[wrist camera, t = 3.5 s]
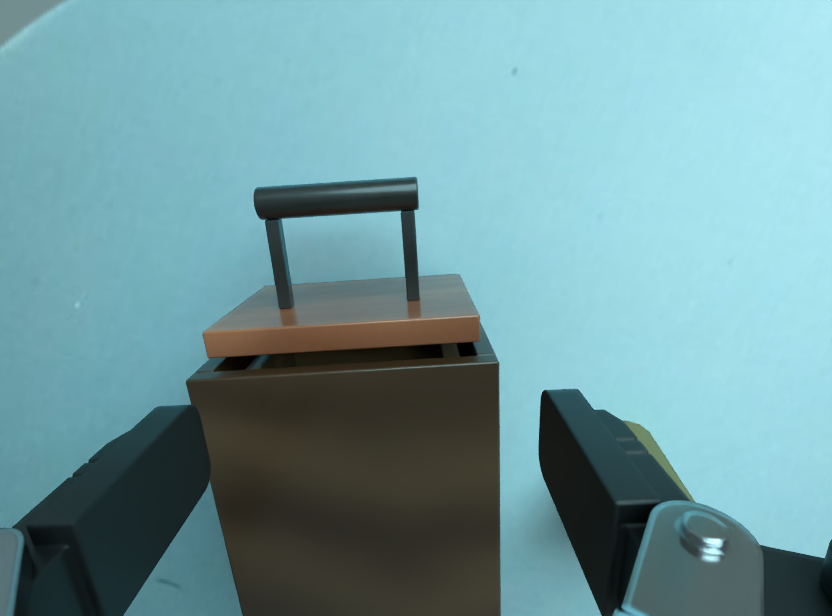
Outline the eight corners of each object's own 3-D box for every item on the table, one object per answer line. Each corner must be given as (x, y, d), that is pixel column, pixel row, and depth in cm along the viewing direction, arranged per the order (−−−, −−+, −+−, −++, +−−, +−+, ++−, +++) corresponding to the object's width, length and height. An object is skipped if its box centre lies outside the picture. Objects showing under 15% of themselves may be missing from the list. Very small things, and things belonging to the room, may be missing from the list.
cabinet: (263, 309, 26) (184, 380, 17) (468, 296, 26) (499, 361, 17) (297, 504, 31) (248, 645, 21) (474, 494, 30) (501, 631, 21)
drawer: (247, 187, 23) (170, 193, 16) (456, 174, 23) (477, 172, 16) (297, 479, 29) (257, 585, 21) (466, 469, 29) (485, 572, 21)
